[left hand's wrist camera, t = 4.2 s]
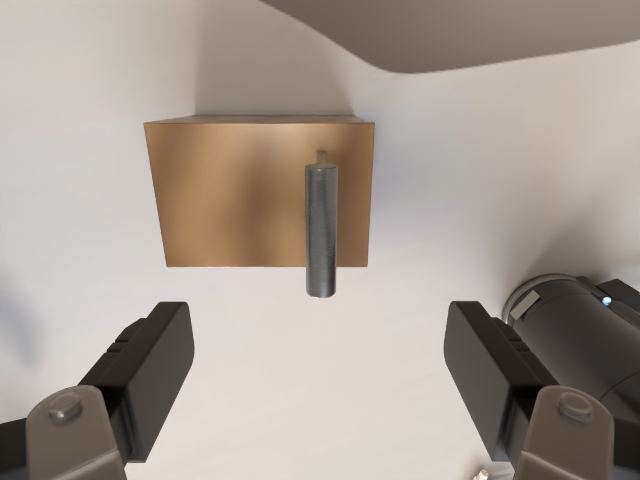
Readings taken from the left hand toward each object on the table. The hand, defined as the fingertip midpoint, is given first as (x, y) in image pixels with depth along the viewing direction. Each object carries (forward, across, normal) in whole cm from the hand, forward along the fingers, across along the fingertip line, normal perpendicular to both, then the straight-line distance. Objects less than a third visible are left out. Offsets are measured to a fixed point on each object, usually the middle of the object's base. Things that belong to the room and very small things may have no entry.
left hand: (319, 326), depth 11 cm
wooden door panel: (+16, -4, 0) cm, 17 cm away
